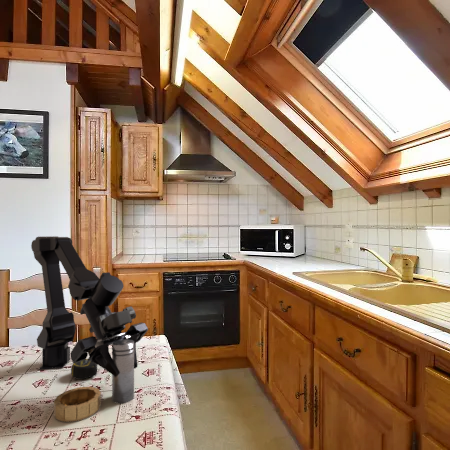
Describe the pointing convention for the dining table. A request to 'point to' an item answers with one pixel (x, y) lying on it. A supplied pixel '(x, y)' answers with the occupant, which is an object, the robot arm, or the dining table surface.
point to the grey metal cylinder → (123, 371)
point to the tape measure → (83, 369)
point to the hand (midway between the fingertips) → (126, 371)
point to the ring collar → (77, 404)
